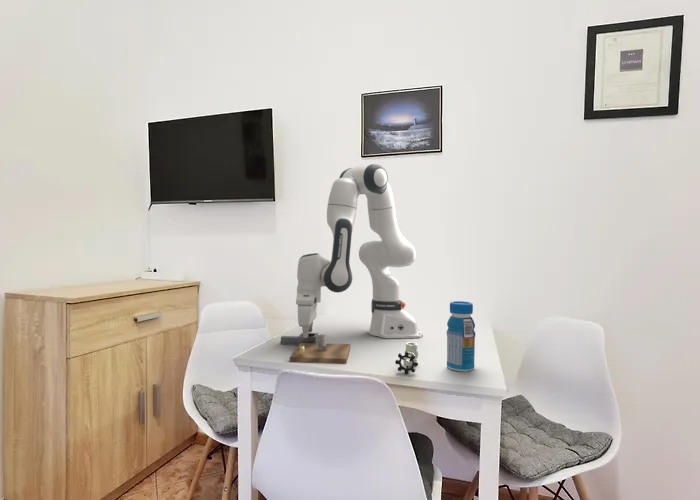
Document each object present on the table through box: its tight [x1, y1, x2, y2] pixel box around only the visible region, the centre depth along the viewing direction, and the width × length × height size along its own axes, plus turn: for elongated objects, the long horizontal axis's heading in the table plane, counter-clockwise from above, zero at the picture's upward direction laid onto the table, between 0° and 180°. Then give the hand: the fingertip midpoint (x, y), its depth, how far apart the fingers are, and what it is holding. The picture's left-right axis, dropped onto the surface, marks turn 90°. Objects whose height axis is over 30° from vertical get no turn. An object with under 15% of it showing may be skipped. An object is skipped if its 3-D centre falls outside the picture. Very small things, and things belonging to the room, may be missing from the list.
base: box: [289, 334, 351, 364], centre depth 133 cm, size 18×18×6 cm
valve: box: [394, 342, 419, 375], centre depth 119 cm, size 7×7×12 cm
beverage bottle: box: [446, 300, 476, 373], centre depth 119 cm, size 8×8×20 cm
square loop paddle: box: [280, 332, 319, 347], centre depth 146 cm, size 13×6×4 cm, turn 86°
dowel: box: [300, 346, 304, 356], centre depth 126 cm, size 1×1×4 cm
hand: (307, 334), depth 145 cm, fingers open, 8 cm apart
